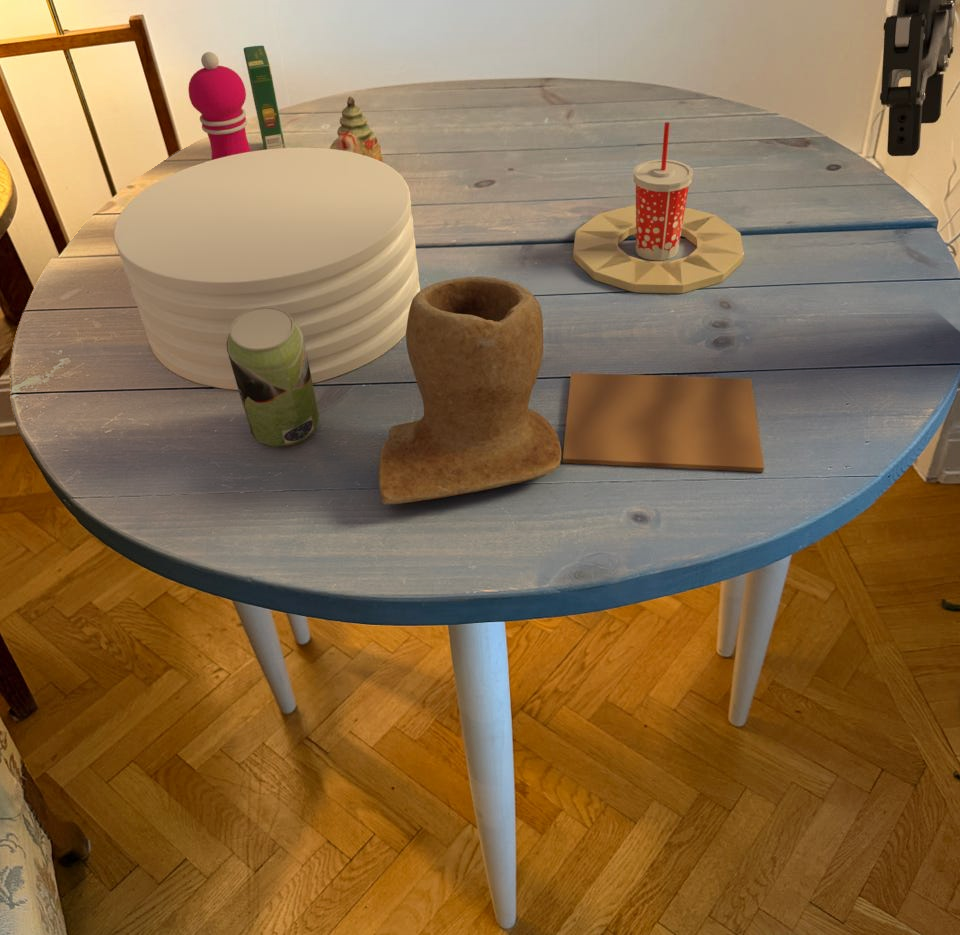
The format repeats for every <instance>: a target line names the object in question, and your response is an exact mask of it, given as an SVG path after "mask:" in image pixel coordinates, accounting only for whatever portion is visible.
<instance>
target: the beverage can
mask: <svg viewBox="0 0 960 935" xmlns="http://www.w3.org/2000/svg"><path fill="white" fill-rule="evenodd" d="M226 345H227V352H228V355H229V359H230V362H231V366H232V369H233V373H234V376H235V380H236V383H237V387H238V390H237V391H238V393H239V397H240V400H241V404H242V407H243V411H244V414H245V418H246V421H247V425H248V429H249V431H250V433H251V435H252V436H253V437H254V438H255V439H256V440H257V441H258V442H260V443H261V444H264V445H267V446H271V447H289V446H293V445H296V444H299V443H300V442H303V441H304V440H306V439H307V438H309V437H310V436H311V435H312V434H313V433H314V432H315V431H316V428H317V427H318V425H319V421H320V413H319V409H318V404H317V399H316V394H315V388H314V383H312V378H311V373H310V368H309V363H308V358H307V353H306V348H305V343H304V338H303V333H302V331H301V329H300V327H299V326H298V325H297V323H296V322H294V321H293V320H292V318H291V317H290V316H289V314H287V313H286V312H285V311H283V310H280V309H277V308H273V307H260V308H255V309H251V310H249V311H246V312H244V313H243V314H241V315H240V316H238V317H237V318H236V319H235V320H234V322H233V323H232V325H231V328H230V333H229V336H228V338H227V344H226Z"/></svg>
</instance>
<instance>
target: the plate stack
mask: <svg viewBox="0 0 960 935" xmlns="http://www.w3.org/2000/svg"><path fill="white" fill-rule="evenodd" d="M251 151H252V152H246V153H240V154H235V155H231V156H226V157H222V158H218V159H214V160H212V159H211V160H208V161H203V162H201V163H198V164H196V165H193V166H189V167H187V168H184V169H181V170H180V171H176V172H174V173H173V174H170V175H168V176H167V177H164V178H162V179H161V180H159V181H156V182H155V183H153V184H152V185H150V186H149V187H147V188H146V189H144V190H142V191H141V192H140V193H138V194H137V195H136V196H135V197H134V198H132V200H130V201H129V203H127V204H126V206H125V207H124V208H123V209H122V211H121V212H120V213H119V215H118V217H117V219H116V221H115V223H114V227H113V240H114V244H115V246H116V249H117V252H118V256H119V257H120V259H121V262H122V267H123V270H124V273H125V277H126V279H127V281H128V284H129V285H130V291H131V293H132V296H133V299H134V302H135V304H136V307H137V309H138V310H137V311H138V313H139V314H138V315H139V318H140V319H141V323H142V325H143V328H144V330H145V333H146V338H147V340H148V343H149V345H150V349H151V351H152V353H153V354H154V356H155V357H156V359H157V360H158V361H159V362H160V363H161V364H162V365H163V366H164V367H165V368H167V369H168V370H169V371H171V372H172V373H174V374H176V375H177V376H180V377H181V378H184V379H186V380H188V381H191V382H194V383H197V384H200V385H203V386H207V387H211V388H217V389H224V390H233V391H239V390H238V387H237V383H236V380H235V376H234V373H233V369H232V366H231V362H230V359H229V355H228V352H227V345H226V344H227V338H228V336H229V333H230V328H231V325H232V323H233V322H234V320H235V319H236V318H237V317H238V316H240V315H241V314H243V313H244V312H246V311H249V310H251V309H255V308H260V307H273V308H277V309H280V310H283V311H285V312H286V313H287V314H289V316H290V317H291V318H292V320H293V321H294V322H296V323H297V325H298V326H299V327H300V329H301V331H302V333H303V338H304V343H305V348H306V353H307V358H308V363H309V368H310V373H311V378H312V383H313V384H317V383H320V382H325V381H327V380H330V379H333V378H336V377H340V376H342V375H345V374H347V373H350V372H352V371H354V370H357V369H358V368H361V367H363V366H365V365H367V364H369V363H371V362H373V361H374V360H377V359H378V358H379V357H382V355H384V354H385V353H387V352H388V351H390V350H391V349H392V348H393V347H395V346H396V345H397V344H398V343H399V342H401V340H402V339H404V337H406V328H407V321H408V314H409V310H410V306H411V302H412V300H413V298H414V297H415V296H416V294H417V293H418V292H420V291H421V286H420V279H419V265H418V260H417V247H416V240H415V239H416V238H415V236H414V235H415V228H414V220H413V213H412V201H411V200H412V199H411V192H410V189H409V188H410V187H409V185H408V183H407V181H406V180H405V178H404V177H403V176H402V175H401V174H400V173H399V172H398V171H397V170H395V168H393V167H391V165H388V164H387V163H384V162H381V161H378V160H376V159H374V158H371V157H368V156H365V155H361V154H357V153H353V152H348V151H342V150H335V149H330V148H325V147H324V148H323V147H285V148H278V149H267V150H265V149H261V150H260V149H259V150H251Z"/></svg>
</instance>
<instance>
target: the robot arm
mask: <svg viewBox="0 0 960 935" xmlns="http://www.w3.org/2000/svg"><path fill="white" fill-rule="evenodd" d="M955 14H956V0H898V1H897V9H896V14H893V15H890V16H887V17H886V18H885V22H884V23H883V31H884V32H883V35H884V36H883V37H884V38H883V53H882V72H881V90H880V91H881V92H880V94H879V101H880V105H881V106H886V107H887V108H888V124H887V125H888V128H887V146H886V148H887V149H886V150H887V154H888V155H889V156H890V157H912V156H915V155H916V154H917V153H918V152H919V150H920V148H921V135H922V134H921V132H922V124H934V123H936V122H938V121H939V119H940V117H941V115H942V106H943V105H942V103H943V90H944V76H945V75H944V73H946V72H947V68H948V67H949V64H950V61H949V59H951V57H952V55H953V53H954V46H953V45H954V44H953V42H954V28H955ZM903 78H910V84H909V85H905V86H904V85H902V86H899V83H900V80H901V79H903Z"/></svg>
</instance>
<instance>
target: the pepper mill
mask: <svg viewBox="0 0 960 935" xmlns="http://www.w3.org/2000/svg"><path fill="white" fill-rule="evenodd" d="M200 61H201V66H202V68H200V69H199V70H197V71H196V72H195V73H193V75H192V76H191V77H190V80H189V83H188V91H187V92H188V98H189V101H190V103H191V105H192V107H193V108H194V109H195V110H196V111H197V112H198V113H200V114H201V115H200V116H199V122H200V123H201V130H202V131H203V132H204V133H206V134H207V136H208V140H209V144H210V150H211V160H214V159H218V158H222V157H226V156H231V155H235V154H240V153H246V152H252V151H253V150H251V147H250V144H249V141H248V138H247V137H248V136H247V132H246V127H247V125H248V122H249V121H248V119H247V118H246V115H247V112H246V111H245V109H243V106H244V104H245V102H246V97H247V91H246V87H245V84H244V81H243V79H242V78H241V76H240V75H239V74H238V73H237V72H236V71H235V70H234V69H231V68H230V67H228V66H223V65H219V63H220V62H219V58H218V56H217V54H215V53H214V52H212V51H207V52H204V53H203V54H202V56H201V59H200Z"/></svg>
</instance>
